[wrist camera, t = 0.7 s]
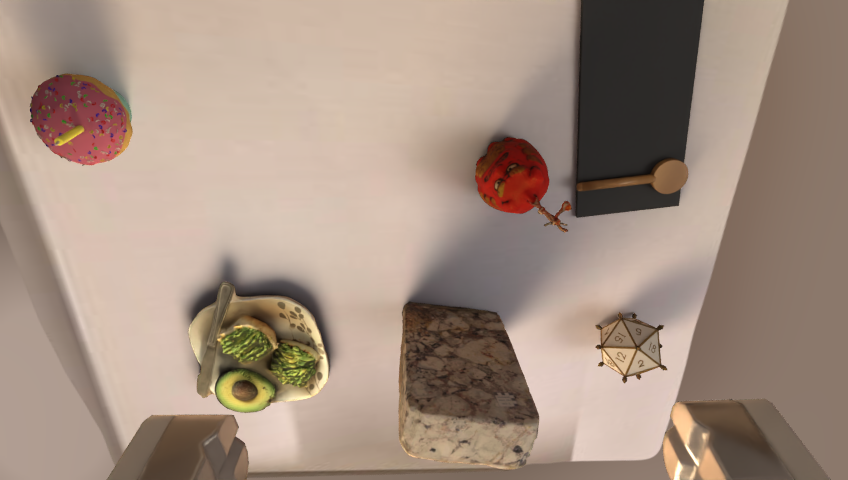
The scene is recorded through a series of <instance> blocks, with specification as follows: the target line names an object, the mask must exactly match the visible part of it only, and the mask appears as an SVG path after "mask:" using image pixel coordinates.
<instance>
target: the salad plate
mask: <svg viewBox="0 0 848 480" xmlns="http://www.w3.org/2000/svg"><path fill="white" fill-rule="evenodd" d="M188 335H189V339H190V343H191V345H192V348H193V351H194V352H195V355H196V358H197V360H198V362H199V364H200V366H201V369H200V370H201V372H200V374H199V375H198V379H197V392H198V394H199V395H201V396H202V397H203V398H205V397H207V396H208V395H210V394H214V395H216V397H217V399H218V401H219V402H220V403H221V404H222V405H223V406H225V407H226V408H227V409H230V410H233V411H237V412H244V413H248V412H257V411H261V410H263V409H265V407H266V406H269V405H270V403H275V402H286V401H294V400H301V399H306V398H309V397H312V396H314V395H316V394H317V393H318V392H319V391H321V389H322V388H323V386H324V385H325V383H326V382H327V380H328V377H329V369H330V364H329V357H328V354H327V352H326V350H325V348H324V344H323V341H322V337H321V333H320V331H319V328H318V326H317V324H316V321H315V318H314V316H313V315H312V314H311V312H310V311H309V310H308V309H307V308H306V307H304V306H303V305H302V304H300V303H298V302H297V301H295V300H293V299H291V298H289V297H286V296H275V295H261V296H253V297H239V296H237V295H236V294H235V287H234V285H233V284H231V283H229V282H223V283H221V284H220V287H219V291H218V296H217V301H216V302H215V303H213V304H211V305H210V306H207V307H205V308H204V309H202V310H201V311H200V312H199V313H198V315H197V316H196V317H195V318H194V320H193V321H192V323H191V325H190V327H189V330H188Z"/></svg>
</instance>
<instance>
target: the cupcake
mask: <svg viewBox="0 0 848 480" xmlns="http://www.w3.org/2000/svg"><path fill="white" fill-rule="evenodd" d="M30 107H31V109H30V112H31V117H32V119H31V120H32V121H31V120H30V122H32V124H33V125H34V127H35V129H36V132H37V135H38V136H39V138H40V139H42V141H43V142H44V143H45V144H46V146H47V147H49V148H50V150H51V151H53V152H54V153H55V154H57V155H59V156H60V157H61V158H62V157H63V158H66V159H67V160H68V161H69V160H70V161H73V162H76V163H80V164H83V165H94V164H97V163H101V162H106V161H110V160H112V159H113V158H115V157H117V156H118V155H120V154H121V153H122V152H123V151H124V150H125V149H126V148H127V146H128V145H129V142H130V139H131V136H132V132H133V131H132V126H131V118H132V115H131V110H130V107H129V105H128V103H127V101H126V100H125V99H124V98H123V97H122V96H121V95H120V94H119V93H117V92H116V91H114V90H112V89H111V88H109V87H108V86H106V85H104V84H103V83H101V82H100V81H98V80H97V79H95V78H93V77H89V76H84V75H74V74H62V75H59V76H58V75H57V76H56V77H53V78H50V79H49V80H47V81H45V82H43V83H42V84H41V85H39V86H38V89H37V91H36V92H35V94H34V95H33V97H32V102H31V104H30ZM83 165H82V166H83Z"/></svg>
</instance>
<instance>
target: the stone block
mask: <svg viewBox="0 0 848 480" xmlns="http://www.w3.org/2000/svg"><path fill="white" fill-rule="evenodd" d="M402 316H403V334H402V344H401V356H400V367H399V392H400V397H399V441H400V443H401V445H402V447H403V449H404V450H405V451H406V453H407V454H409V455H410V456H412V457H415V458H424V459H431V460H434V461H440V462H447V463H465V464H483V465H489V466H492V467H494V468H500V469H516V468H520V467H523V466H524V465H525V464H526V458H527V457H529V456H530V452H531V450H532V447H533V443H534V440H535V439H536V438H537V434H538V425H539V414H538V412H537V409H536V406H535V403H534V401H533V398H532V396H531V394H530V392H529V388H528V385H527V383H526V380H525V377H524V374H523V372H522V370H521V367H520V365H519V362H518V360H517V357H516V354H515V352H514V349H513V346H512V344H511V342H510V339H509V337H508V334H507V332H506V330H505V328H504V325H503V323H502V320H501V318H500V316H499V315H498V314H497V313H496V312H490V311H485V310H476V309H469V308H461V307H449V306H440V305H431V304H422V303H414V302H408V303H407V304H406V305H405V306H404V308H403V312H402Z"/></svg>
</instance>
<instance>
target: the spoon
mask: <svg viewBox="0 0 848 480" xmlns="http://www.w3.org/2000/svg"><path fill="white" fill-rule="evenodd" d="M687 178H688V169H687V166H686V165H685V164H684V163H683V162H681V161H680V160H678V159H675V158H668V159H664V160H662V161H660V162H659V163H657V164H656V165H655V166H654V168H653V169H652V171H651V174H648V175H640V176H631V177H623V178H614V179H606V180H597V181H589V182H580V183H578V184H577V186H576V188H577V190H578V191H588V190H597V189H605V188H614V187H622V186H631V185H639V184H648V183H651V186H652V187H653V188H654V189H655V190H656V191H658V192H660V193H662V194H670V193H674V192H676V191H678V190H679V189H680V188H682V187H683V185H684V184H685V183H686V181H687Z"/></svg>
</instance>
